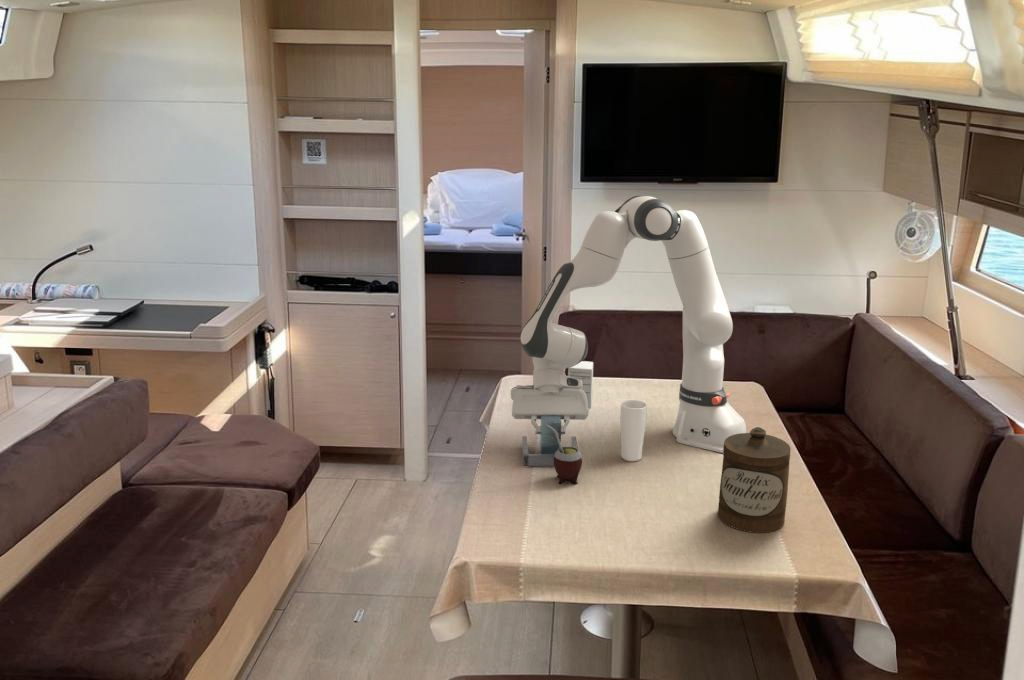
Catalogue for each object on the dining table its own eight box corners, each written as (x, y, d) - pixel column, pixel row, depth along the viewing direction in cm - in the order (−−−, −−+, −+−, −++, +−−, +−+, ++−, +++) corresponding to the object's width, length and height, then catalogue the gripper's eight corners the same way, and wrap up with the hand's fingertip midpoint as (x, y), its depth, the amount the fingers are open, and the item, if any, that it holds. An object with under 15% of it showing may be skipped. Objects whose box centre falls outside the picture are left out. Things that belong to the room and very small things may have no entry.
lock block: (539, 443, 255) (540, 411, 252) (558, 443, 255) (559, 411, 252) (541, 455, 247) (542, 422, 245) (560, 455, 247) (561, 422, 245)
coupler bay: (522, 446, 257) (522, 436, 256) (575, 446, 257) (575, 436, 256) (523, 466, 244) (523, 455, 243) (579, 466, 244) (580, 455, 244)
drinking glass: (647, 455, 252) (650, 402, 248) (639, 465, 246) (642, 410, 242) (623, 451, 255) (625, 398, 250) (614, 460, 249) (617, 406, 245)
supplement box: (568, 399, 293) (569, 360, 290) (592, 400, 292) (594, 361, 289) (566, 407, 286) (567, 367, 283) (591, 409, 285) (592, 368, 282)
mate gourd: (587, 480, 237) (589, 423, 232) (566, 490, 231) (568, 432, 227) (564, 471, 242) (565, 416, 237) (543, 480, 236) (545, 424, 232)
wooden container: (712, 526, 214) (720, 434, 208) (723, 499, 228) (730, 412, 221) (780, 538, 209) (790, 445, 203) (787, 510, 222) (796, 422, 216)
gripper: (510, 380, 252) (511, 428, 246) (588, 380, 253) (590, 429, 246) (510, 390, 258) (510, 437, 251) (585, 391, 258) (587, 438, 252)
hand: (550, 433), depth 249 cm, fingers closed on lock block, 5 cm apart
